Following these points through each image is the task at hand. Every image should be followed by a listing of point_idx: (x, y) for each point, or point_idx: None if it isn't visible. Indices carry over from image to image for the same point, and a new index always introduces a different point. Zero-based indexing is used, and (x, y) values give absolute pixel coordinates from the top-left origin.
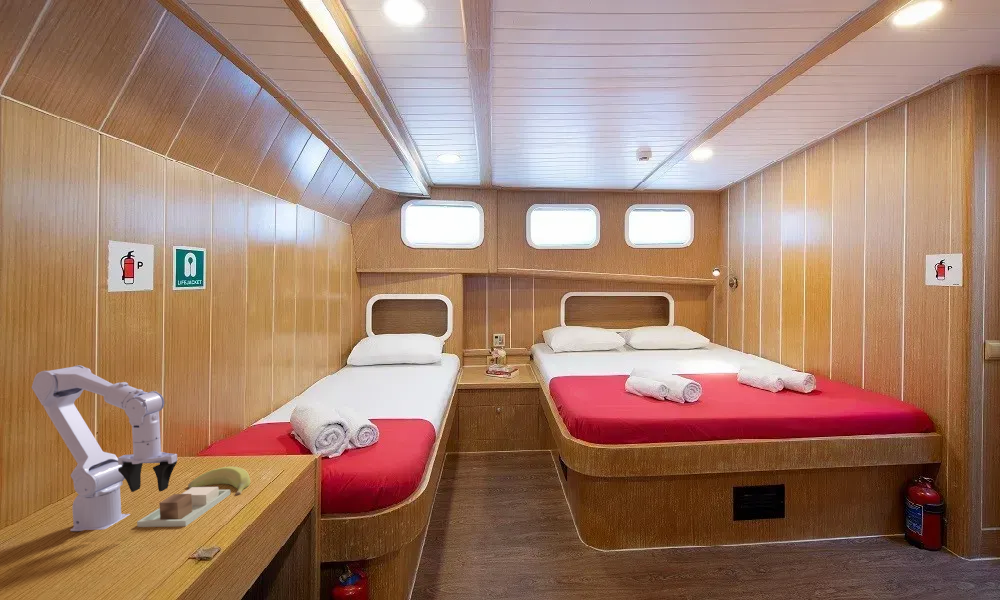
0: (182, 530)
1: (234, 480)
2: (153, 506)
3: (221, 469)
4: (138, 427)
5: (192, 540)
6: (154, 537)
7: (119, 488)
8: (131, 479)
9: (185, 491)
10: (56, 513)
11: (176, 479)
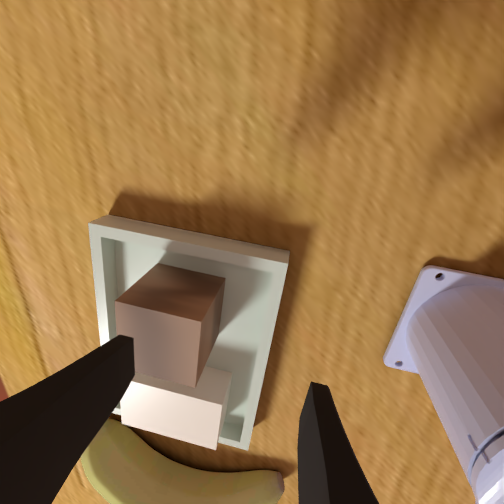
0: (110, 202)
1: (115, 453)
2: (335, 402)
3: None
4: None
5: (17, 115)
6: (178, 168)
7: (467, 476)
8: (322, 483)
9: (218, 426)
10: None
11: None
